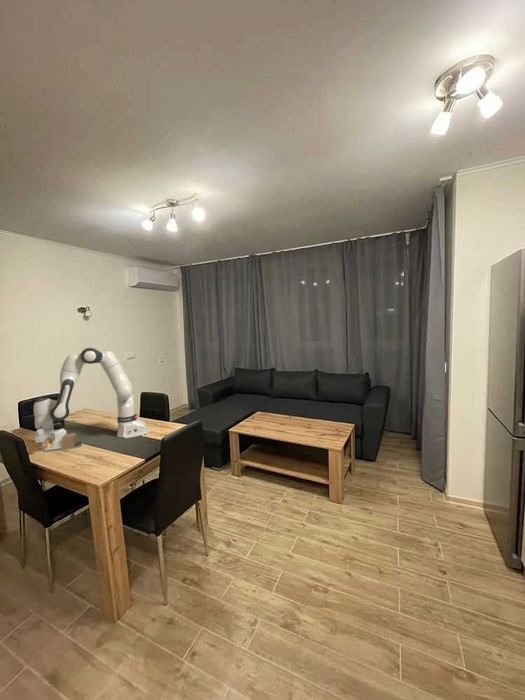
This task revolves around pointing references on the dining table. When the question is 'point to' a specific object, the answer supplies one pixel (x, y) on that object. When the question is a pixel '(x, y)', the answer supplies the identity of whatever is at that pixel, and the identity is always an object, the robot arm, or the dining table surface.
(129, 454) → the dining table surface
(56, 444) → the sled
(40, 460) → the dining table surface
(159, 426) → the dining table surface
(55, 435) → the medicine bottle
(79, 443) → the tunnel board
